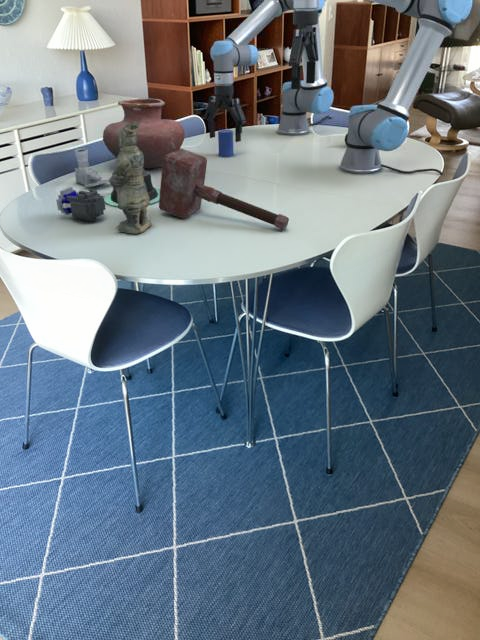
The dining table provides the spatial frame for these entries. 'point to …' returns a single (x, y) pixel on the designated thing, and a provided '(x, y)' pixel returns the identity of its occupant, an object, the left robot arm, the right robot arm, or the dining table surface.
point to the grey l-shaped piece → (86, 170)
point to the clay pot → (146, 131)
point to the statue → (131, 182)
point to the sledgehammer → (200, 190)
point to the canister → (225, 143)
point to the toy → (81, 204)
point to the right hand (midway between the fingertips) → (303, 86)
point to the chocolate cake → (152, 192)
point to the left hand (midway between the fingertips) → (225, 139)
